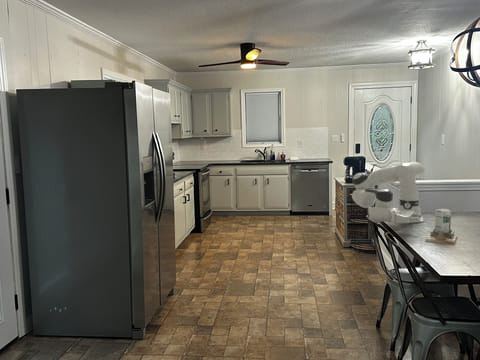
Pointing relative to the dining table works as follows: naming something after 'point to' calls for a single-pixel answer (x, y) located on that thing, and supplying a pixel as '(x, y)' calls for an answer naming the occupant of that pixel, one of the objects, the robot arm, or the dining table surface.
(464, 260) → the dining table surface
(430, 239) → the socket board
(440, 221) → the syrup box
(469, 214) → the dining table surface
